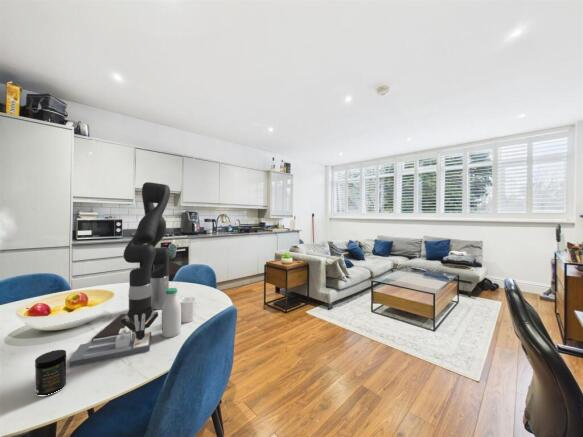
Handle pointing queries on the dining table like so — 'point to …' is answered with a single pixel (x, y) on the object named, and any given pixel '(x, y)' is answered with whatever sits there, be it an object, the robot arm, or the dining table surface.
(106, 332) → the hardcover book
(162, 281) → the robot arm
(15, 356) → the dining table surface
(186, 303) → the white cup
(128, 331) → the cream tab
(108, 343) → the switch panel
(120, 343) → the white block with rib
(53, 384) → the supplement container
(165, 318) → the milk bottle
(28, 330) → the dining table surface
